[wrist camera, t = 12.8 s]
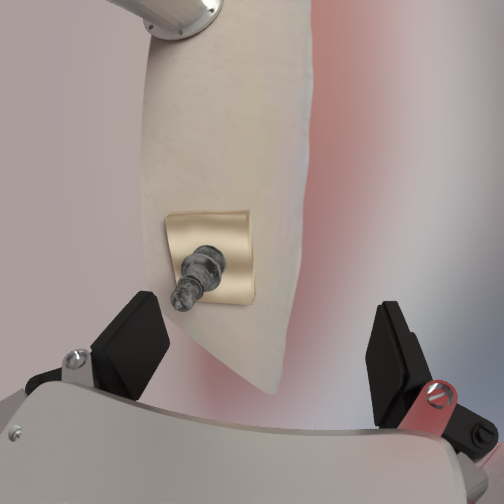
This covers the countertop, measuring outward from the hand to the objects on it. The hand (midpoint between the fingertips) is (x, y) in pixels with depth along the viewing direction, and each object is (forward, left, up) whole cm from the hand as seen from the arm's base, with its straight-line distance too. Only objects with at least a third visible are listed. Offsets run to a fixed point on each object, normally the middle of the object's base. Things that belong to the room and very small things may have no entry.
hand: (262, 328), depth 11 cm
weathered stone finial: (+10, -12, -26) cm, 30 cm away
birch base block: (+10, -12, -28) cm, 32 cm away
